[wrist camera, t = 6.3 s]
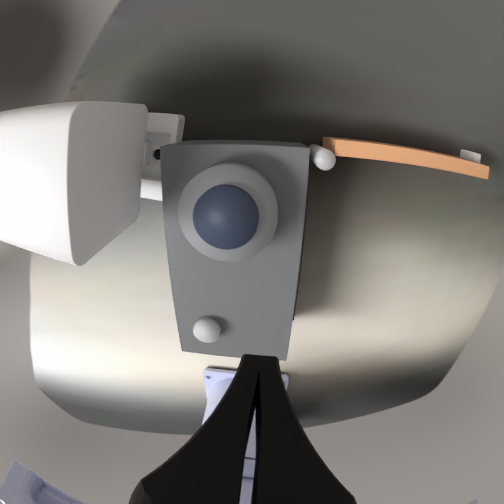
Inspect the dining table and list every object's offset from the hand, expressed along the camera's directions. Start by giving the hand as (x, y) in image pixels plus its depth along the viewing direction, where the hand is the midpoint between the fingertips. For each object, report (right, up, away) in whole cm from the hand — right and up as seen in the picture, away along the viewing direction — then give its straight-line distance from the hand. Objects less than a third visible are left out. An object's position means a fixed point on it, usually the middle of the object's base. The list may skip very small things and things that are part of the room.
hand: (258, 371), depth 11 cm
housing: (-1, +6, +8) cm, 10 cm away
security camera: (-8, +12, +6) cm, 16 cm away
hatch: (+8, +11, +5) cm, 15 cm away
